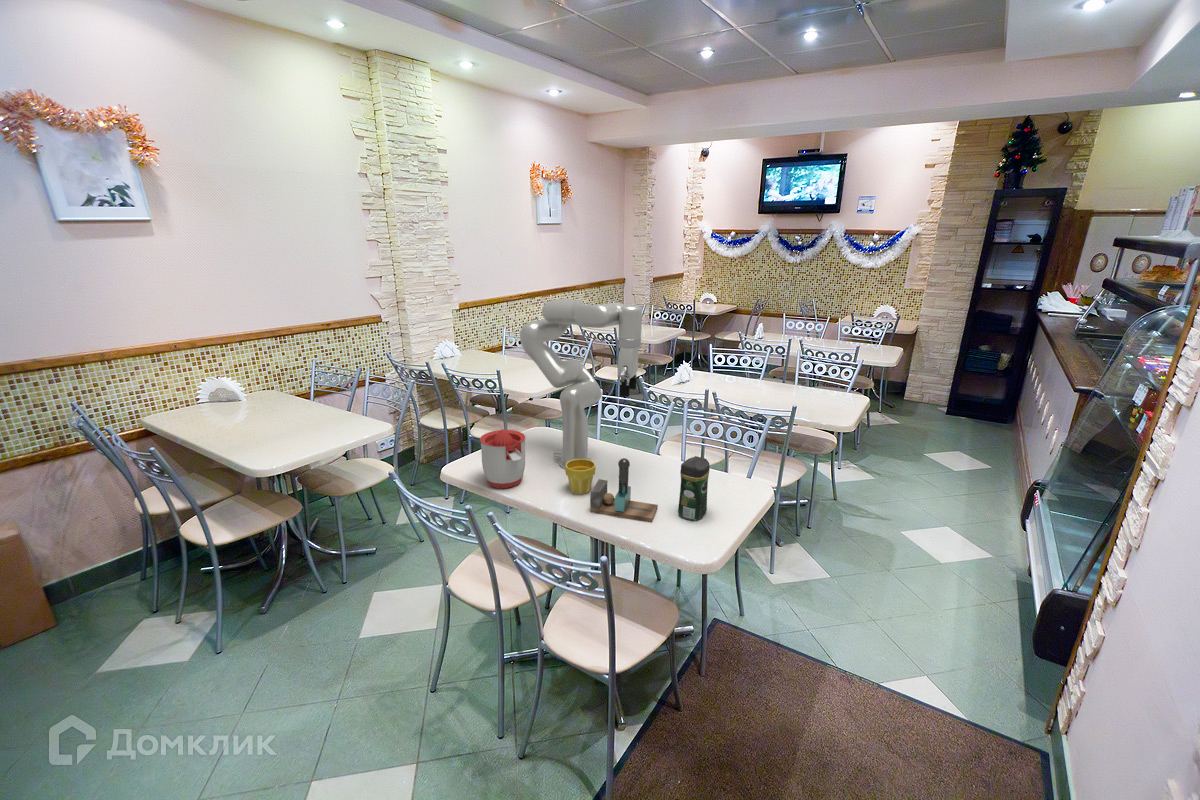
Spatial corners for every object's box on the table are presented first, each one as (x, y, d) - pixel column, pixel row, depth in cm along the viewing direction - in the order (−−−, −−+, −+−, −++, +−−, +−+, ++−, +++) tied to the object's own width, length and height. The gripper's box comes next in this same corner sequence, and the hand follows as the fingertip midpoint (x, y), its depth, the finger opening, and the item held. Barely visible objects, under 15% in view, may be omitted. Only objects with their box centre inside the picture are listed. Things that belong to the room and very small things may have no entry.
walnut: (601, 505, 165) (601, 495, 164) (604, 500, 168) (605, 490, 167) (612, 507, 164) (612, 497, 163) (615, 502, 167) (615, 492, 166)
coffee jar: (687, 504, 170) (690, 452, 164) (709, 511, 166) (714, 458, 160) (673, 516, 162) (677, 462, 157) (696, 524, 158) (701, 468, 153)
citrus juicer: (498, 498, 172) (495, 442, 166) (474, 480, 185) (471, 427, 179) (537, 485, 182) (536, 432, 176) (512, 468, 194) (510, 418, 188)
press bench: (590, 512, 164) (590, 491, 162) (598, 499, 172) (598, 479, 170) (651, 522, 158) (652, 500, 156) (657, 508, 167) (658, 487, 164)
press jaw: (614, 510, 162) (615, 463, 157) (620, 498, 169) (621, 453, 164) (625, 512, 161) (626, 464, 156) (631, 500, 168) (632, 454, 163)
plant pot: (565, 483, 183) (564, 458, 180) (594, 483, 184) (594, 457, 181) (565, 497, 173) (565, 471, 170) (596, 496, 174) (596, 470, 171)
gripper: (625, 338, 180) (623, 385, 185) (611, 347, 164) (610, 398, 169) (646, 339, 178) (644, 387, 183) (634, 348, 162) (632, 400, 167)
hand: (628, 392), depth 176 cm, fingers open, 9 cm apart
